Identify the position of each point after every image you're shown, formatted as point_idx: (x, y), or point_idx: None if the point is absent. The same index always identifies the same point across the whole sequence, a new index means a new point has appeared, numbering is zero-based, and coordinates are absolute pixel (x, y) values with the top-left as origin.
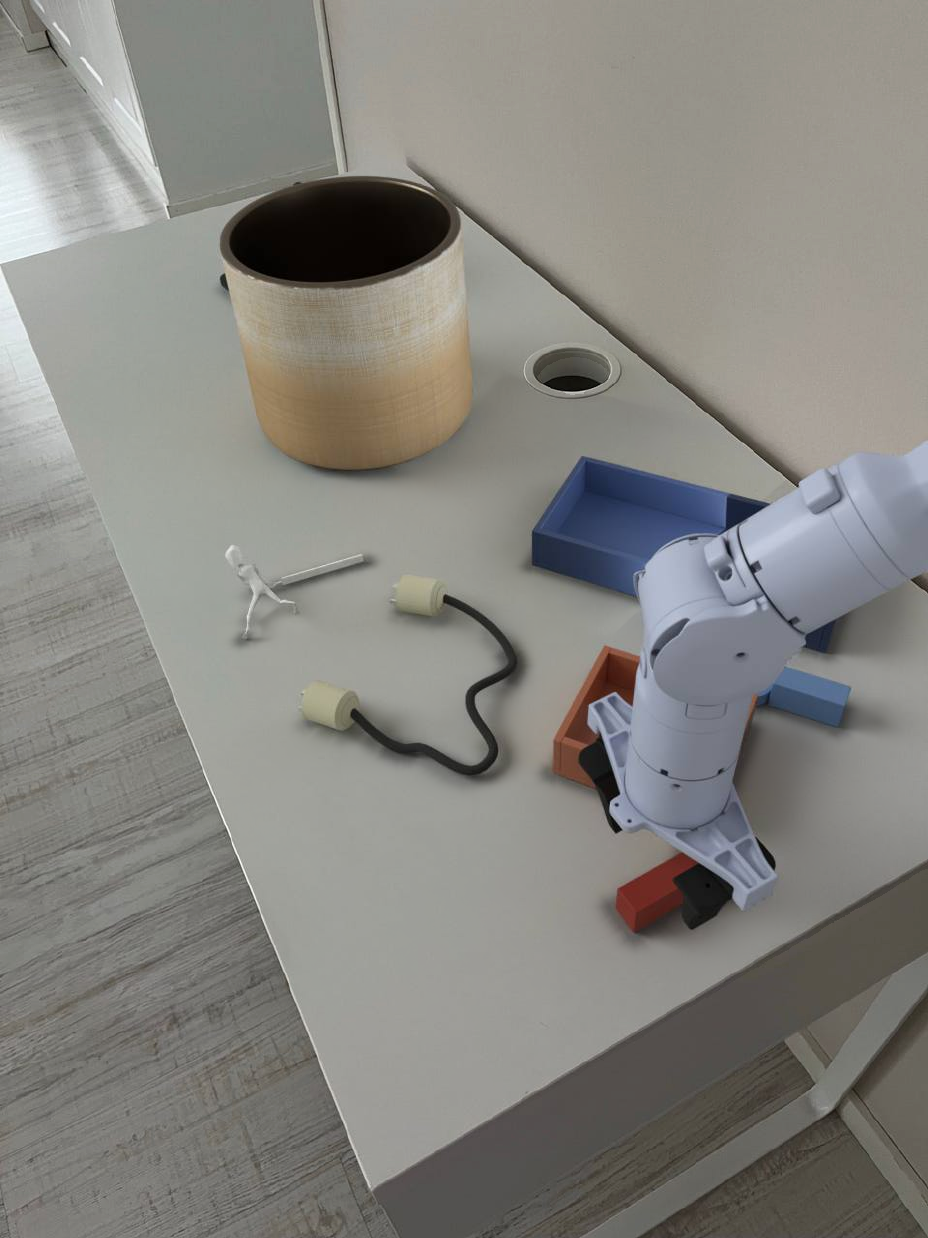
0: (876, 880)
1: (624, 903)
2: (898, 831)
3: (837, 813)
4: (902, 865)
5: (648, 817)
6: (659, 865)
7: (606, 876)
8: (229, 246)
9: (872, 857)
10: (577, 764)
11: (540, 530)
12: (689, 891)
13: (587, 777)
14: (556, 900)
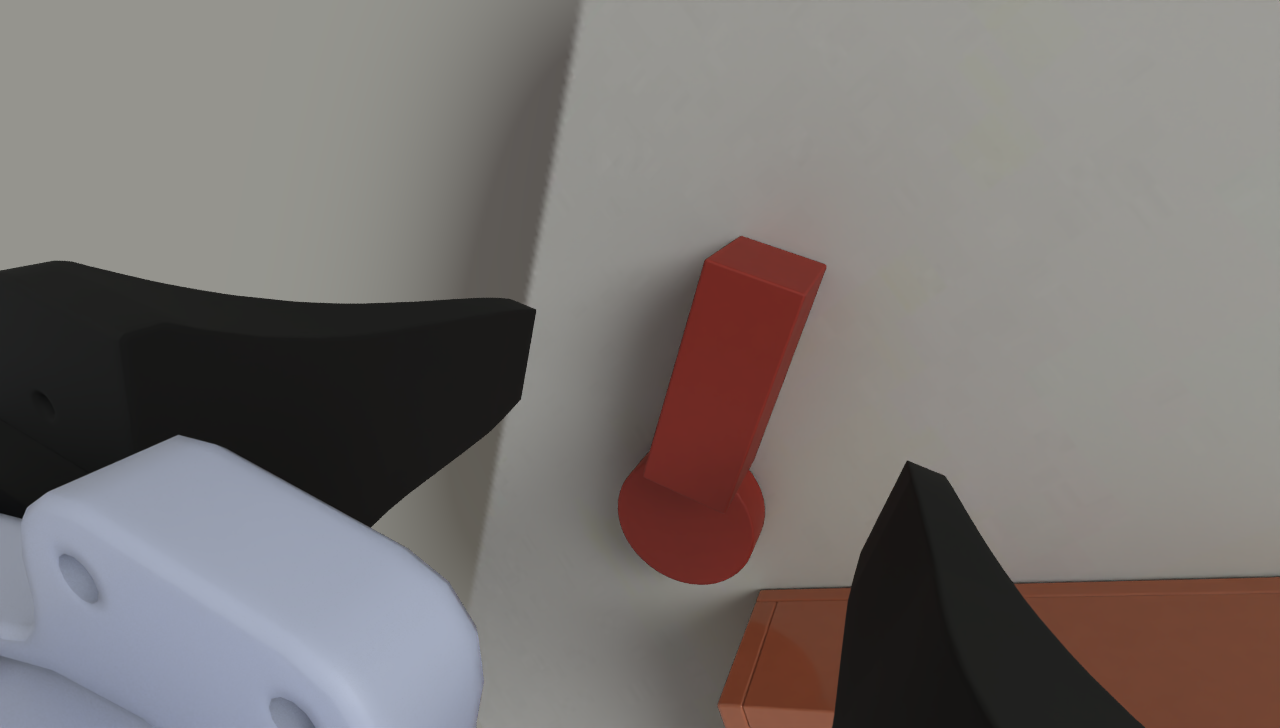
0: None
1: (769, 271)
2: (503, 720)
3: (591, 721)
4: None
5: (19, 698)
6: (750, 440)
7: (914, 336)
8: None
9: (500, 659)
10: (1274, 653)
11: None
12: (41, 317)
13: (1196, 611)
14: (1010, 159)
